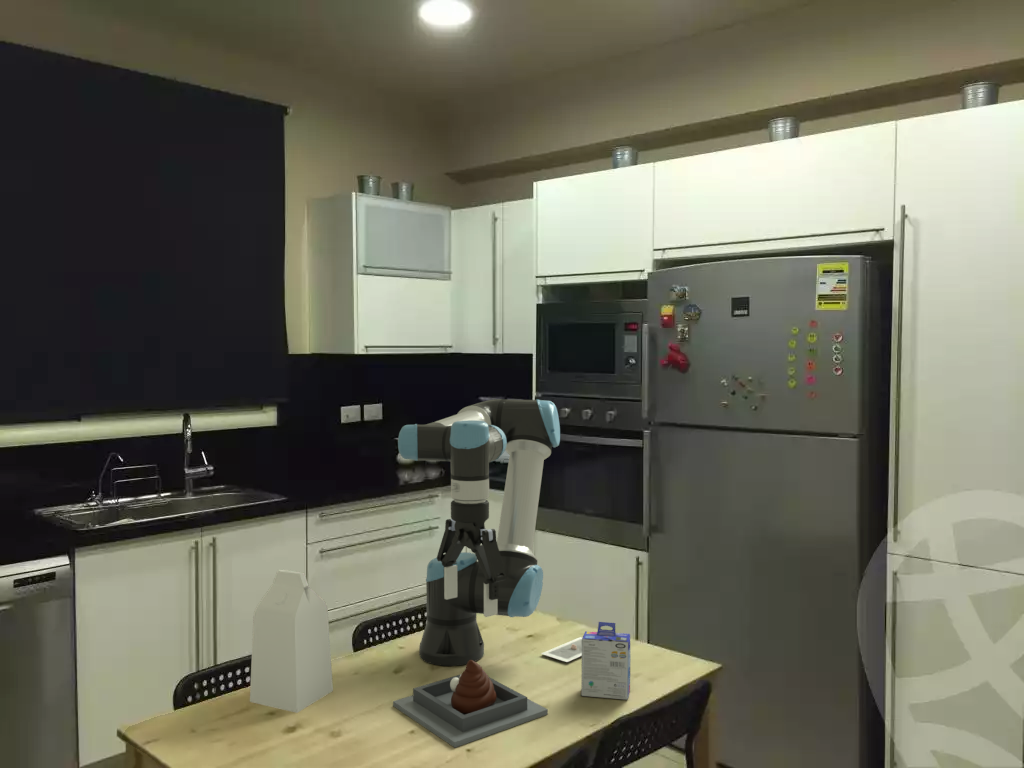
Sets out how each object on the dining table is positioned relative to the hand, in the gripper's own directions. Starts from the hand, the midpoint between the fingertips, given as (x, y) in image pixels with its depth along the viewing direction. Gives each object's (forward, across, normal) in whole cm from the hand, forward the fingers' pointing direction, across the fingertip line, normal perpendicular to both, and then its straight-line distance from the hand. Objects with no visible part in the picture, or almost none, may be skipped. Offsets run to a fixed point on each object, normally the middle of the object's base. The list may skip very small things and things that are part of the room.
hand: (470, 606), depth 164 cm
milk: (+21, -28, -25) cm, 43 cm away
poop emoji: (+20, +1, 0) cm, 20 cm away
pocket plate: (+21, 0, 0) cm, 21 cm away
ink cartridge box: (+21, +11, +27) cm, 36 cm away
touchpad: (+22, -10, +37) cm, 44 cm away
